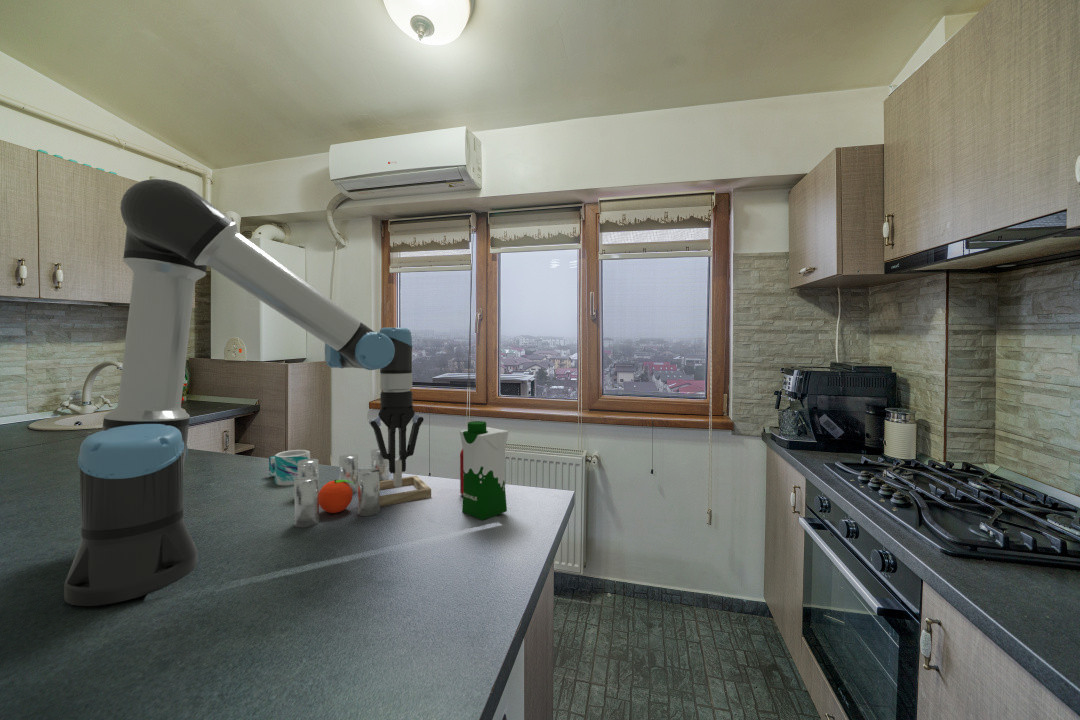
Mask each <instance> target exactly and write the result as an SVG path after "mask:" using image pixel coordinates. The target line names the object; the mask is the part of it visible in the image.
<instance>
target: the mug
mask: <svg viewBox="0 0 1080 720" xmlns="http://www.w3.org/2000/svg"><path fill="white" fill-rule="evenodd" d="M305 459H311V451H310V450H306V449H291V450H284V451H281V452H278V453H276V454H274V455H273V456H270V457H268V475H269V476H272V477H274V483H275V484H276V485H278V486H294V481H295V480H296V479H298V461H300V460H305Z"/></svg>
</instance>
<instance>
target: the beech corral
mask: <svg viewBox="0 0 1080 720" xmlns="http://www.w3.org/2000/svg"><path fill="white" fill-rule="evenodd" d="M405 486H414V487H415V488H416V489H414V490H407V491H402V492H397V493H389V494H384V495H380V507H384V506H391V505H395V504H396V505H397V504H402V503H406V502H412V501H417V500H423V499H424V500H425V499H429V498H432V488H431V487H430V486H428V485H427V484H426V483H425V482H424V481H423V480H422V479H421V478H420V477H419V476H418V475H413V476H406V477H402V486H401V487H405ZM395 488H396V487H395V486H394V485H393V479H391V478H390V479H389V480H384V481H380V490H386V489H395Z"/></svg>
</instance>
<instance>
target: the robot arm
mask: <svg viewBox="0 0 1080 720" xmlns="http://www.w3.org/2000/svg"><path fill="white" fill-rule="evenodd" d="M119 208H120V215H121V218H122V220H123V223H124V225H125V226H126V231H125V232H126V234H125V239H124V251H123V257H122V258H123V259H122V262H124V264H125V265H127V267H128V268H129V269H130V270H131V271H132V273H133V275H132V282H131V283H132V284H131V289H130V290H131V291H130V299H129V308H128V318H127V325H126V332H125V340H124V349H123V358H122V366H121V374H120V383H119V391H118V399H117V405H116V407H115V408H114V409H112V410H110V411H109V412H107V413H105V415H104V416H103V420H102V421H103V423H102V430H101V431H100V430H99V431H97V432H94V433H92V434H90V435H88V436H87V437H86V438H85V439H83V440H82V442H81V444H80V447H79V453H78V457H77V464H78V468H79V490H80V491H79V492H80V494H79V495H80V500H79V501H80V543H79V546H78V548H77V551H76V553H75V555H74V558H73V561H72V563H71V565H70V569H69V570H68V573H67V576H66V578H65V581H64V587H63V590H64V591H63V597H64V601H65V602H66V603H67V604H69V605H72V606H77V607H78V606H79V607H94V606H95V607H96V606H104V605H105V606H106V605H111V604H117V603H120V602H121V603H122V602H124V601H129V600H132V599H136V598H140V597H143V596H145V595H148V594H150V593H152V592H155V591H157V590H159V589H163V588H164V587H167V586H169V585H172V584H174V583H175V582H178V581H179V580H181V579H183V578H184V577H186V576H187V575H189V574H190V573H192V572H193V571H194V570H195V569H196V567H197V566H198V563H199V557H198V556H199V554H198V553H199V552H198V548H197V545H196V544H195V542H194V540H193V537H192V535H191V532H190V531H189V529H188V526H187V524H186V522H185V519H184V518H185V517H184V467H185V463H186V461H187V460H186V459H187V457H188V453H189V451H188V437H189V430H190V429H189V428H190V417H191V415H190V414H189V413H187V412H186V411H185V409H183V408H182V398H183V391H184V384H185V383H184V381H185V372H186V364H187V354H188V347H189V337H190V329H191V321H192V319H191V318H192V312H193V303H194V302H193V301H194V295H195V285H196V282H197V281H198V280H200V279H202V278H205V276H207V271H208V270H207V268H208V267H209V268H210V269H212V270H214V271H215V272H217V273H218V274H220V275H221V276H223V277H225V278H226V279H227V280H229V281H230V282H232V283H233V284H235V285H236V286H238V287H240V288H241V289H243V290H244V291H245V292H247V293H248V294H250V295H251V296H254V297H255V298H257V299H258V300H259V301H261V302H262V303H263V304H265V305H267V306H269V308H271V309H272V310H275V311H276V312H278V313H279V314H281V315H282V316H283V317H285V318H287V319H288V320H290V321H291V322H292V323H294V324H296V325H297V326H299V327H300V328H302V329H303V330H305V331H306V332H308V333H309V334H311V335H312V336H314V337H315V338H317V339H318V340H320V341H321V342H323V343H324V358H325V360H324V361H325V363H326V365H327V366H328V367H329V368H333V369H336V368H337V369H344V368H345V369H346V368H348V369H351V368H353V369H364V370H367V371H376V370H379V375H380V382H379V384H380V385H379V386H380V388H379V389H380V390H381V392H380V410H379V412H378V413H377V416H376V417H375V418H373V419H370V420H369V421H368V424H369V425H370V427H371V428H372V429H373V432H374V436H375V440H376V442H377V443H376V444H377V446H378V449H379V451H380V454H381V457H382V458H383V459H388V460H389V474H392V476H393V477H392V478H393V485H394V486H395V487H394V488H400V487H403V486H402V478H403V472H406V470H407V462H406V461H407V458H409V457H410V456H413V455H414V452H415V448H416V444H417V440H418V435H419V432H420V427H421V425H422V423H423V422H424V421H425V420H424V419H425V418H424V417H423V416H420V415H418V414H416V412H415V410H414V406H413V405H414V404H413V391H412V388H413V337H412V332H411V330H410V329H409V328H407V327H382V328H380V329H379V331H374V330H373V329H371V328H370V327H369V326H367V325H366V324H364V323H363V322H361V321H360V320H359V319H358V318H356V317H355V316H353V315H352V314H350V313H349V312H348V311H346V310H345V309H344V308H342V307H341V306H340V305H338V304H337V303H336V302H334V301H333V300H331V299H330V298H329V297H327V296H326V295H325V294H323V293H322V292H321V291H319V290H318V289H316V288H315V287H314V286H313V285H311V284H309V283H308V282H307V281H305V280H304V279H302V278H301V277H300V276H299V275H297V274H296V273H294V272H293V271H292V270H290V269H289V268H288V267H286V266H285V265H284V264H282V263H281V262H279V261H278V260H277V259H276V258H274V257H273V256H272V255H270V254H268V253H267V252H266V251H265V250H263V249H261V247H259V246H258V245H257V244H255V243H253V242H252V241H251V240H249V239H248V238H247V237H245V236H244V235H243V234H241V233H240V231H239V229H238V224H237V223H236V222H235V221H234V220H232V219H231V218H229V216H227V215H226V214H224V213H223V212H222V211H221V210H219V209H218V208H217V207H215V206H214V205H213V204H212V203H210V202H209V201H208V200H206V199H205V198H204V197H203V196H201V195H200V194H198V193H197V192H196V191H194V190H192V189H191V188H190V187H187V186H186V185H184V184H181V183H179V182H176V181H172V180H168V179H162V178H153V179H152V178H150V179H146V180H141V181H139V182H137V183H134V184H132V186H131V187H129V188H128V189H127V190H126V191H125V192H124V194H123V195H122V198H121V201H120V207H119ZM411 421H412V425H411V428H410V429H411V430H410V432H409V433H410V434H409V437H408V443H407V426H408V425H409V424H410V422H411ZM381 422H382V423H383V424H384V425H385V426H386V427H387V445H388V446H387V448H386V444H385V441H384V437H383V434H382V430H381V428H380V427H381V426H382V425H381ZM397 429H398V456H399V457H396V432H397ZM386 449H388V453H387V451H386Z"/></svg>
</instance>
